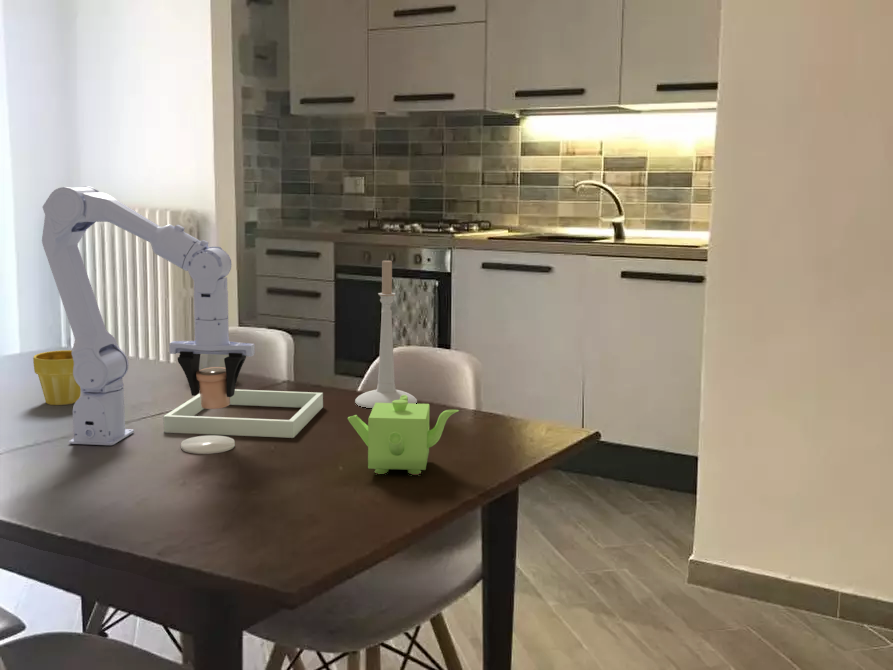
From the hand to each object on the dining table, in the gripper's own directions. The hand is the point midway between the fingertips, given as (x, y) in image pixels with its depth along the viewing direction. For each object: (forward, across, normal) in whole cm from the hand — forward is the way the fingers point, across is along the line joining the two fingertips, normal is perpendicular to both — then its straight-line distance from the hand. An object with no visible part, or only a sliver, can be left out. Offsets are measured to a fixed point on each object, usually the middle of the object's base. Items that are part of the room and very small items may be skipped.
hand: (213, 395), depth 175 cm
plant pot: (+9, +40, -25) cm, 48 cm away
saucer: (+8, 0, +3) cm, 9 cm away
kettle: (+9, -35, +11) cm, 37 cm away
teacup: (+9, +17, -50) cm, 54 cm away
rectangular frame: (+8, -1, -17) cm, 19 cm away
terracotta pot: (+2, 0, -1) cm, 2 cm away
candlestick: (+9, -25, -34) cm, 44 cm away
